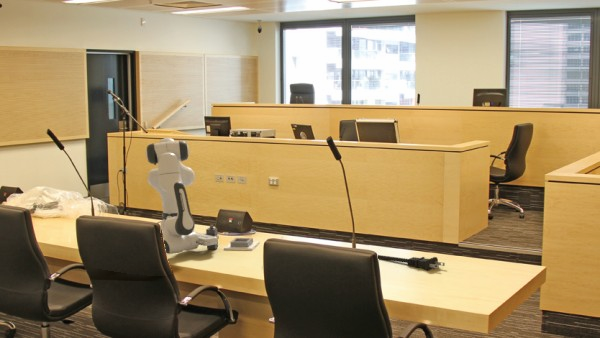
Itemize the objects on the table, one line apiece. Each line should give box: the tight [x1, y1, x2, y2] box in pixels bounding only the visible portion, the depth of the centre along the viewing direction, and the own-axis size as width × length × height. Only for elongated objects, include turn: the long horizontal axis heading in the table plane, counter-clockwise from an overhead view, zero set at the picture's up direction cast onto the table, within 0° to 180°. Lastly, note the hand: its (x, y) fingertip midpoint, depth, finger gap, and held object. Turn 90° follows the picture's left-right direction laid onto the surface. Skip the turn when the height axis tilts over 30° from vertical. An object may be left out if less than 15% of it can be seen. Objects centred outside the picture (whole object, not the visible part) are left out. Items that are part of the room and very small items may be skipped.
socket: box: [223, 237, 261, 251], centre depth 383 cm, size 15×15×4 cm
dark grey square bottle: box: [205, 224, 219, 250], centre depth 380 cm, size 4×4×12 cm
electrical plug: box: [377, 254, 446, 272], centre depth 341 cm, size 9×42×5 cm, turn 47°
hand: (213, 236), depth 380 cm, fingers closed on dark grey square bottle, 6 cm apart
